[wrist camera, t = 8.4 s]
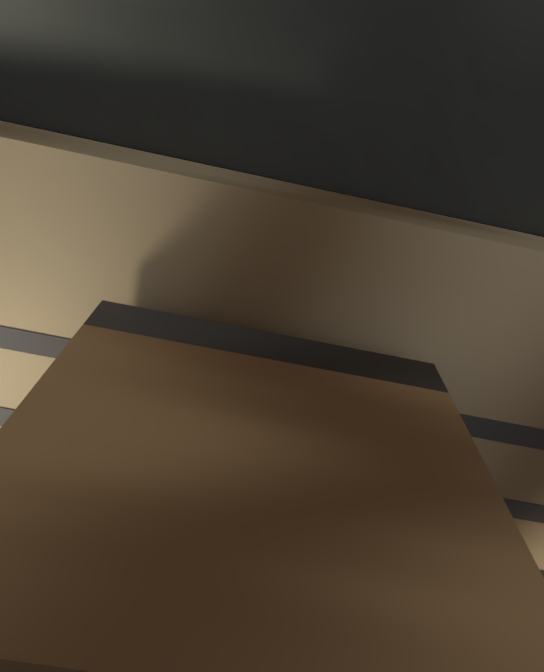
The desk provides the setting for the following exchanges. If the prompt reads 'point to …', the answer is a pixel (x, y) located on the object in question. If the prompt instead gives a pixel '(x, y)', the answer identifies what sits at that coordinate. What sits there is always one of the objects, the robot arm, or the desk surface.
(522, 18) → the desk surface
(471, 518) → the block
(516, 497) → the pine board
